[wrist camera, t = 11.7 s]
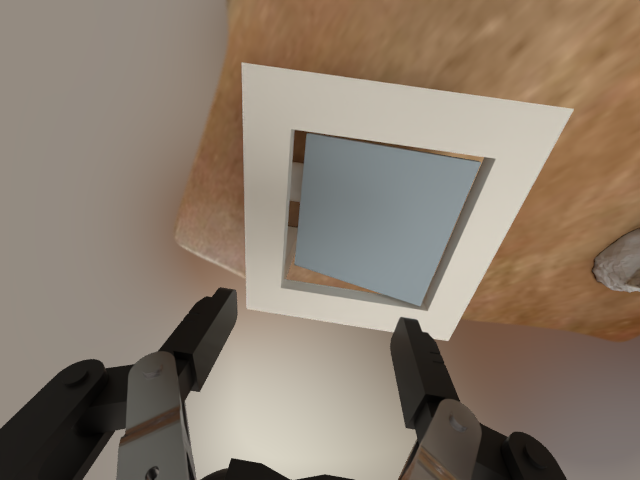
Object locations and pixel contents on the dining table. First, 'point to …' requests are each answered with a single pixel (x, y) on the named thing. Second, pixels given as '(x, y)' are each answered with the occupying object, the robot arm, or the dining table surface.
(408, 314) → the stand
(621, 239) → the stone
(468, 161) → the trapdoor
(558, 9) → the dining table surface
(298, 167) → the white rounded cylinder
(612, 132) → the dining table surface
